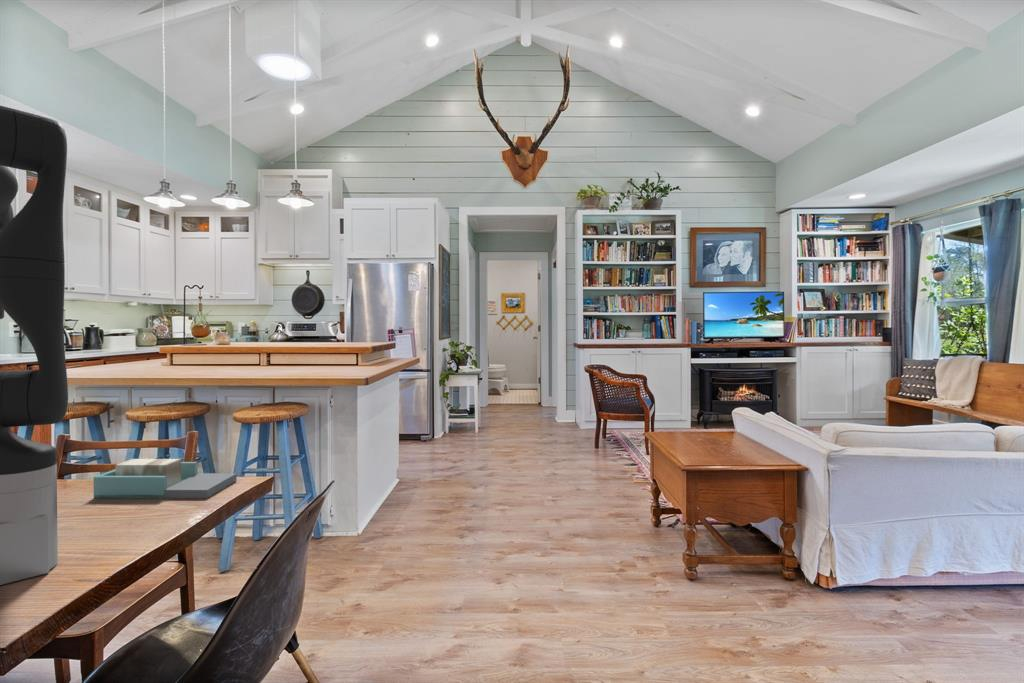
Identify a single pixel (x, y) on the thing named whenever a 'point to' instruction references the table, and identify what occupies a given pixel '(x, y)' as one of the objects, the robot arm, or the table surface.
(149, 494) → the box
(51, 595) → the table surface
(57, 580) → the table surface
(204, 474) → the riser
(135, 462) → the block
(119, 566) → the table surface
